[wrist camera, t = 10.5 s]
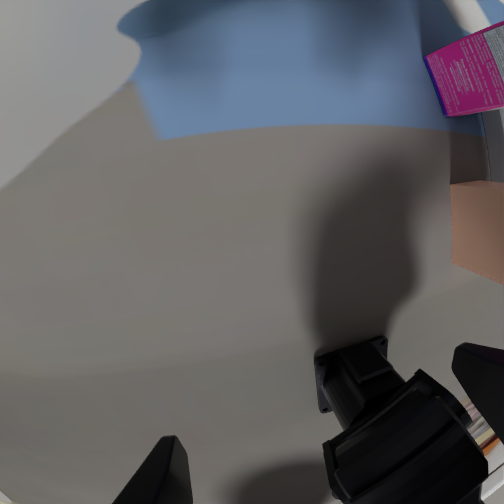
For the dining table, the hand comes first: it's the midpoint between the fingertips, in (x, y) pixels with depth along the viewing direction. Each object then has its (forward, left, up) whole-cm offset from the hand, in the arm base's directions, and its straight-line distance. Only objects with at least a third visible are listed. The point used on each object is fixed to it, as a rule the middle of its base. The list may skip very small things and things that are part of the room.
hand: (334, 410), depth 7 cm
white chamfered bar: (-91, -59, -14) cm, 110 cm away
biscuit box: (0, -19, -13) cm, 23 cm away
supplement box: (+13, -20, -13) cm, 27 cm away
